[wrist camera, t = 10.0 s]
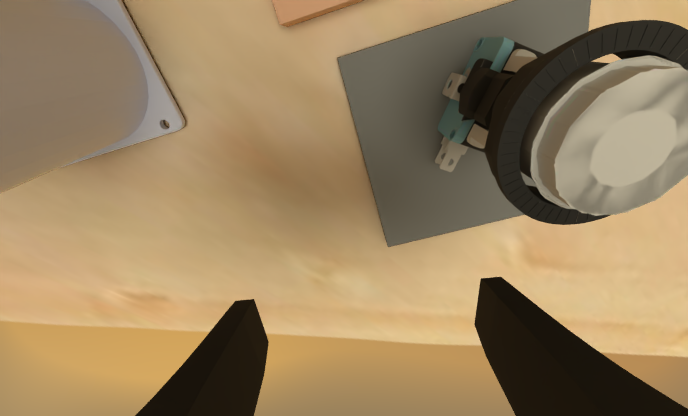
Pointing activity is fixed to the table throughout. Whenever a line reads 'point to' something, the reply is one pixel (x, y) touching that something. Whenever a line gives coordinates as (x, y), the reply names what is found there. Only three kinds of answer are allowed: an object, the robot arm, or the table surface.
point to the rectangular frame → (306, 9)
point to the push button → (576, 119)
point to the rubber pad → (438, 116)
